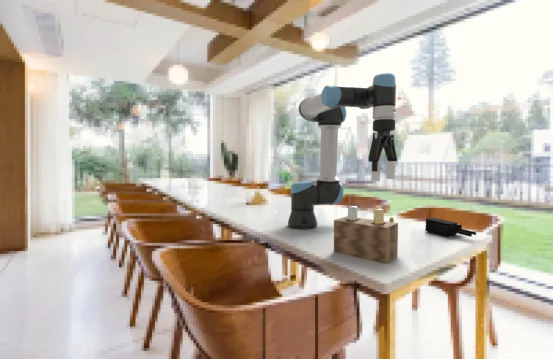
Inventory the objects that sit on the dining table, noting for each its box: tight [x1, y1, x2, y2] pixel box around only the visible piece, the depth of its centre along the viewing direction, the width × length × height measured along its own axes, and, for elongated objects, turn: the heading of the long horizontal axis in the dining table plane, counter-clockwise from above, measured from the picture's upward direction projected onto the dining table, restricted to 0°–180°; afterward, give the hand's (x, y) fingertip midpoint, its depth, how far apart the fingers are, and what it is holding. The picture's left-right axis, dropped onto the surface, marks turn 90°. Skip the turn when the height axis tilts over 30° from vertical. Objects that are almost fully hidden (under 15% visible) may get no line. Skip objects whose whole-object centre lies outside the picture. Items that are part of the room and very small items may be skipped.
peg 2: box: [373, 208, 385, 225], centre depth 109 cm, size 3×3×10 cm
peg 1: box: [347, 205, 358, 221], centre depth 115 cm, size 3×3×10 cm
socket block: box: [333, 215, 399, 264], centre depth 112 cm, size 20×10×12 cm, turn 49°
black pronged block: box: [425, 217, 477, 238], centre depth 138 cm, size 11×6×20 cm
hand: (383, 180), depth 110 cm, fingers open, 13 cm apart
